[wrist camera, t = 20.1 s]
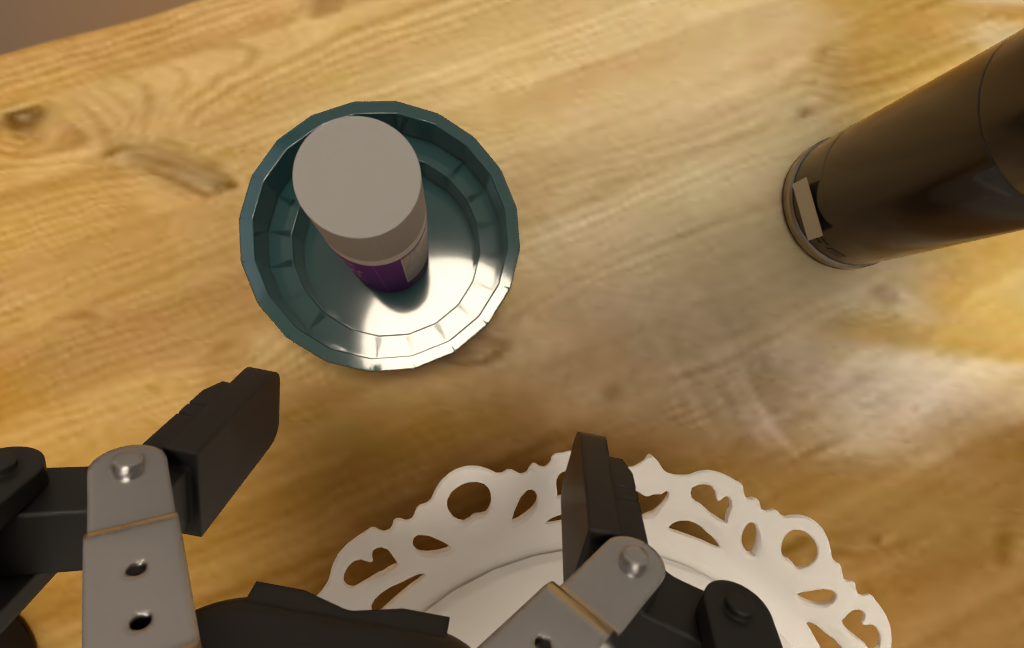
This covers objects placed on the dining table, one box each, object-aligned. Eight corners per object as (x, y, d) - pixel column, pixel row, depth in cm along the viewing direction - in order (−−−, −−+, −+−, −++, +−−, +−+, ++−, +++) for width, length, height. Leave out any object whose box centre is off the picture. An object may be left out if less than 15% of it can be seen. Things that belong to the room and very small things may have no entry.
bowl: (407, 100, 36) (402, 49, 30) (549, 271, 37) (571, 254, 31) (222, 237, 34) (177, 211, 28) (376, 416, 34) (364, 428, 28)
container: (338, 274, 34) (264, 206, 19) (371, 206, 34) (324, 89, 20) (409, 306, 34) (391, 264, 19) (441, 239, 35) (446, 147, 20)
